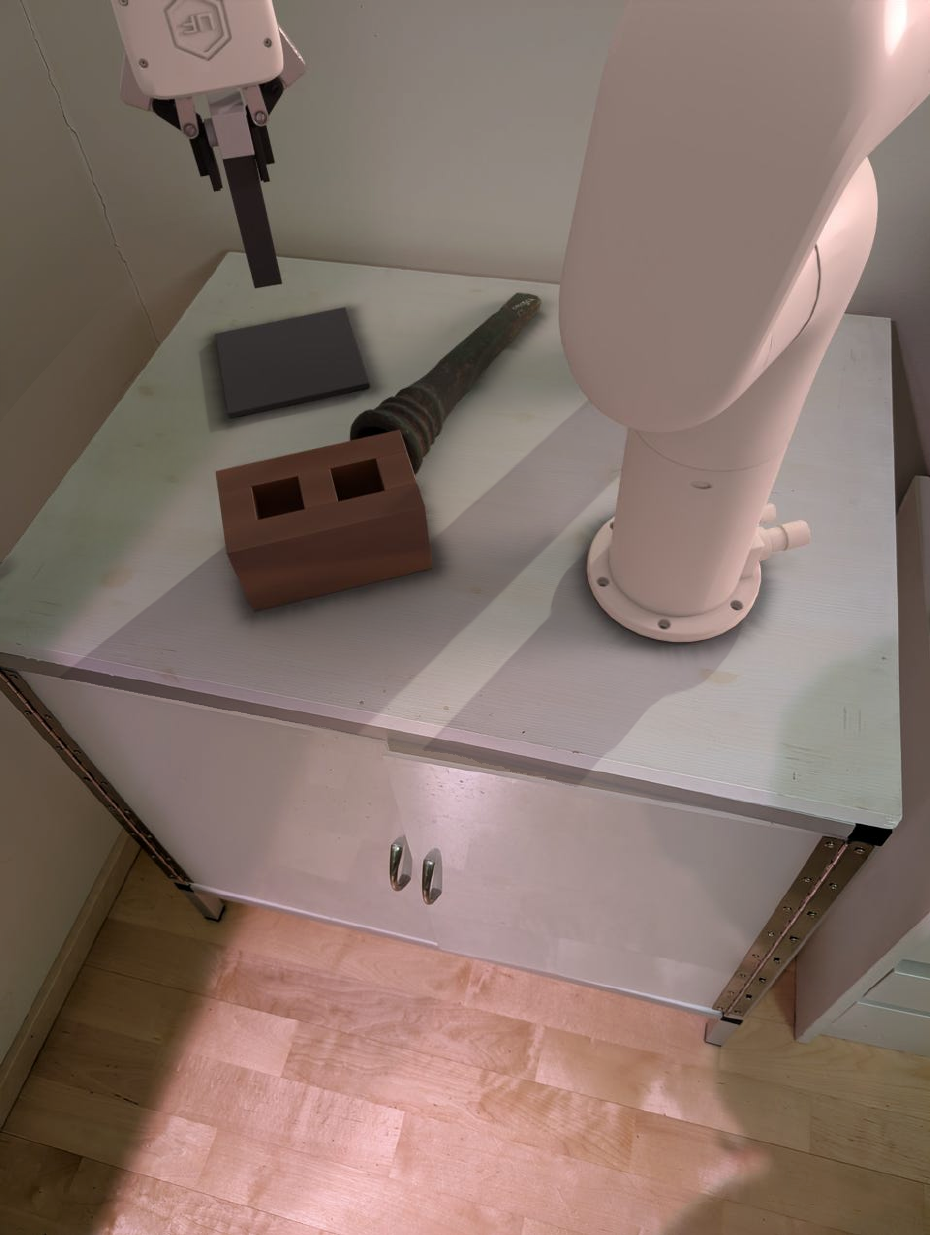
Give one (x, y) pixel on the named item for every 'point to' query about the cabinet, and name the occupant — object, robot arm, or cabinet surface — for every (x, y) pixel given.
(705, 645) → the cabinet surface
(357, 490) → the holder
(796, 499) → the cabinet surface
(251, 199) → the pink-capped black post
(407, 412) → the tool
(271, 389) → the mat
